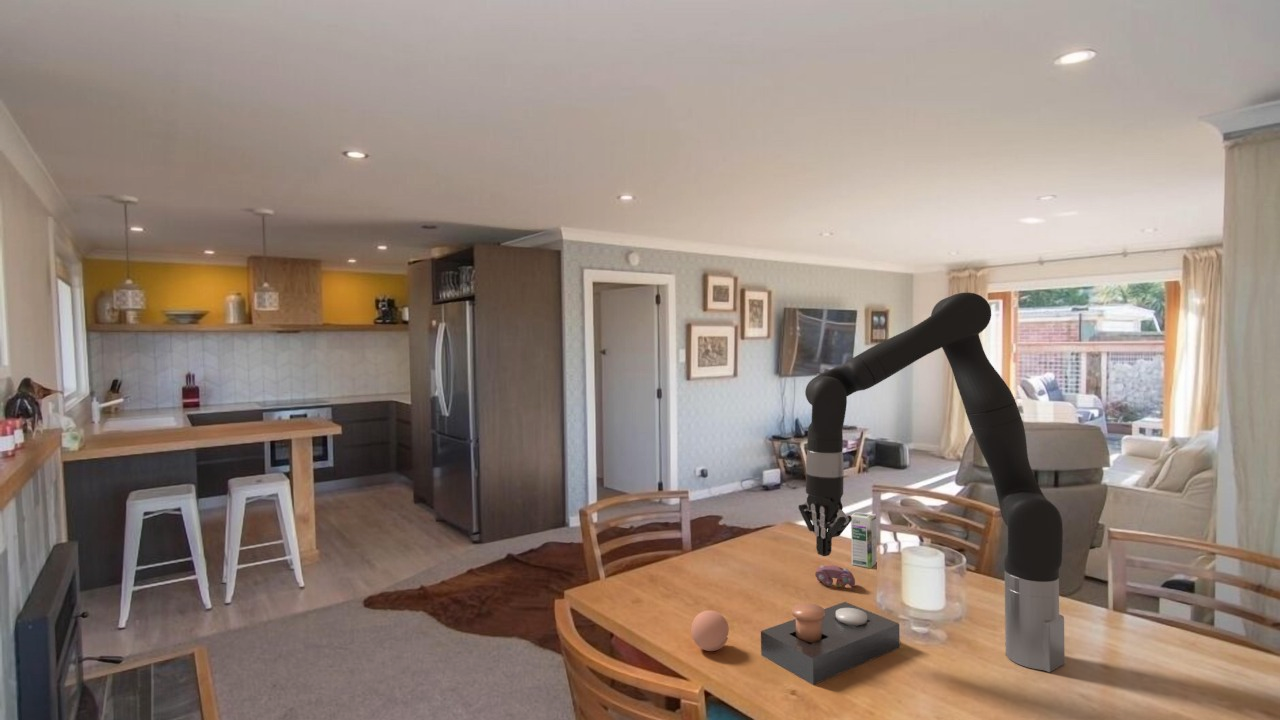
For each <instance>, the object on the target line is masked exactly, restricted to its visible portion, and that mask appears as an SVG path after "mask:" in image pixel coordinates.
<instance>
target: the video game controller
mask: <svg viewBox="0 0 1280 720" xmlns="http://www.w3.org/2000/svg"><path fill="white" fill-rule="evenodd" d="M814 575H815V578H816V579H817V582H819V583H821V582H822V583H823V584H824V585H825V586H827V587H831V586H833V584H834V583H833V582H834V580H833V579H836V582H835V585H836V587H838V588H841V589H844V588H845V587H846V586H847V585H849V586H850V587H855V585H856V578H855V577H854V575H853V573H852V571H851V570H849V569H848V568H842V567H841V566H838V565H833V564H832V565H830V564H829V565H826V566H825V565H824V564H823V565H822V564H821V565H820V566H818V568H817V569H816V570H815V573H814Z"/></svg>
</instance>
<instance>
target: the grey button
mask: <svg viewBox="0 0 1280 720" xmlns="http://www.w3.org/2000/svg"><path fill="white" fill-rule="evenodd" d="M836 619H837V620H838V621H840V622H842V623H844V624H846V625H849V626H851V627H853V628H854V627H856V626H859V625H862V624H865V623H866V622H867V614H866V613H865V612H864V611H861V610H859V609H855V608H841V609H838V610H836Z"/></svg>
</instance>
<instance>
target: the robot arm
mask: <svg viewBox="0 0 1280 720" xmlns="http://www.w3.org/2000/svg"><path fill="white" fill-rule="evenodd" d="M991 317H992V308H991V306H990V303H989V302H988V300H987V299H985V298H984V297H983V296H981V295H980V294H977V293H975V292H967V291H966V292H960V293H959V292H958V293H955V294H952V295H951V296H948V297H945V298H943V299H941V300H939V301H938V302H937V303H936V304H935V305H934V307H933V308H932V311H931V314H930V316H928V318H926V319H924V320H923V321H921V322H920V323H918V324H916V325H914V326H912V327H910V328H909V329H907V330H905V331H903V332H900V333H899V334H896V335H894V336H892V337H890V338H888V339H885V340H883V341H882V342H880V343H877V344H876V345H874V346H871V347H870V348H867V349H866V350H865V351H862V352H861V353H859V354H857V355H855V356H854V357H852V358H850V359H849V360H847V361H846V362H844V363H843V364H840V365H838V366H837V365H836V366H835V367H833V368H831V369H828V370H826V371H824V372H821V373H819V374H818V375H816V376H814V377H813V378H812V379H811V380H809V382H808V383H807V385H806V387H805V391H804V392H805V393H804V394H805V397H806V400H807V402H808V403H809V404H810V405H811V423H809V425H808V427H807V447H806V448H807V451H806V452H807V453H806V458H805V459H806V460H805V493H806V494H807V498H806V502H804V503H803V504H799V505H798V510H799V512H800V514H801V516H802V518H803V520H804V522H805V525H806V526H807V529H808V530H809V531H810V532H812V533H814V535H815V537H816V539H815V540H816V545H815V546H816V547H815V548H816V551H817V555H819V556H822V557H827V556H829V555H830V554H831V553H832V539H833V538H837V537H840V536H841V535H842V533H843V532H844V531H845V530H846V528H848V526H849V524H851V520H852V518H851V516H852V515H846V513H845V512H844V510H843V508H844V507H843V503H842V498H843V495H844V464H845V463H844V455H843V454H844V453H843V452H844V451H843V450H844V449H843V446H844V445H843V444H844V443H843V440H844V438H843V428H844V424H845V423H844V422H845V417H846V411H847V402H848V400H847V398H848V397H849V396H850V395H852V394H854V393H856V392H859V391H866V390H868V389H870V388H872V387H874V386H876V385H878V384H879V383H881V382H883V381H885V380H887V379H888V378H890V377H891V376H893V375H895V374H897V373H898V372H900V371H902V370H904V369H905V368H906V367H908V366H910V365H911V364H913V363H915V362H917V361H919V360H920V359H922V358H923V357H925V356H928V355H929V354H931V353H933V352H935V351H937V350H939V349H941V348H942V350H943V352H944V355H945V357H946V358H947V361H948V363H949V366H950V369H951V370H952V374H953V377H954V381H955V384H956V386H957V389H958V392H959V395H960V398H961V401H962V404H963V407H964V411H965V414H966V416H967V420H968V422H969V425H970V428H971V430H972V433H973V436H974V437H975V439H976V443H977V445H978V448H979V449H980V452H981V454H982V456H983V458H984V460H985V462H986V464H987V466H988V468H989V471H990V474H991V476H992V479H993V480H992V481H993V484H994V488H995V492H996V497H997V501H998V505H999V510H1000V515H1001V518H1002V520H1003V522H1004V524H1005V525H1006V526H1007V554H1006V555H1005V557H1004V563H1003V565H1004V625H1005V628H1004V629H1005V630H1004V631H1005V636H1004V637H1005V642H1004V645H1005V656H1006V657H1007V658H1008V659H1009V660H1010V661H1011V662H1013V663H1016V664H1018V665H1020V666H1023V667H1025V668H1030V669H1034V670H1040V671H1045V672H1047V673H1052V672H1053V671H1055V670H1057V669H1059V668H1060V667H1062V666H1064V665H1065V662H1066V661H1065V655H1066V654H1065V653H1066V652H1065V616H1064V615H1063V614H1060V578H1059V577H1060V569H1061V566H1062V562H1063V535H1064V532H1063V531H1064V530H1063V520H1062V519H1063V518H1062V516H1061V513H1060V511H1059V509H1058V508H1057V507H1056V506H1055V504H1053V503H1052V502H1051V501H1050V500H1048V499H1047V498H1046V496H1045V495H1044V493H1043V492H1042V489H1041V487H1040V485H1039V483H1038V481H1037V479H1036V477H1035V475H1034V473H1033V470H1032V467H1031V464H1030V461H1029V455H1028V445H1027V434H1026V431H1025V425H1024V421H1023V419H1022V415H1021V413H1020V410H1019V408H1018V405H1017V402H1016V399H1015V396H1014V395H1013V393H1012V390H1011V389H1010V387H1009V386H1008V384H1007V383H1006V381H1004V379H1003V378H1002V376H1001V374H999V373H998V371H997V370H996V368H995V367H994V366H993V365H992V364H991V362H990V360H989V358H988V357H987V354H986V353H985V350H984V348H983V343H982V342H981V341H982V340H981V338H980V334H981V333H982V332H983V331H984V330H985V329H986V328H987V327H988V326H989V324H990V321H991Z"/></svg>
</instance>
